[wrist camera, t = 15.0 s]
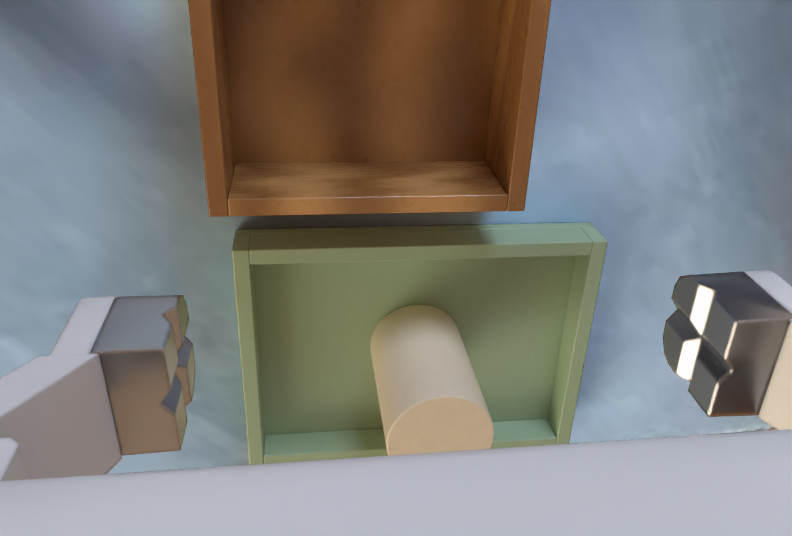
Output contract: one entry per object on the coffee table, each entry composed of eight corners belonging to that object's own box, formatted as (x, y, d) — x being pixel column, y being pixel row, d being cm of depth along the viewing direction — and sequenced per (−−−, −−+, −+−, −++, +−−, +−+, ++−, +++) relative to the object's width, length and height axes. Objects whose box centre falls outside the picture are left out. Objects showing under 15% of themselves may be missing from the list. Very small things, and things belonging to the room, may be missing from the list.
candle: (462, 302, 38) (499, 393, 31) (455, 376, 41) (489, 477, 34) (370, 305, 38) (387, 399, 31) (369, 381, 40) (384, 484, 33)
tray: (590, 221, 38) (608, 241, 36) (555, 421, 44) (568, 447, 42) (235, 229, 35) (231, 250, 33) (251, 438, 42) (249, 467, 40)
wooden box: (528, -140, 29) (570, -145, 25) (495, 171, 36) (524, 211, 31) (191, -155, 28) (171, -164, 23) (220, 174, 34) (208, 216, 29)
